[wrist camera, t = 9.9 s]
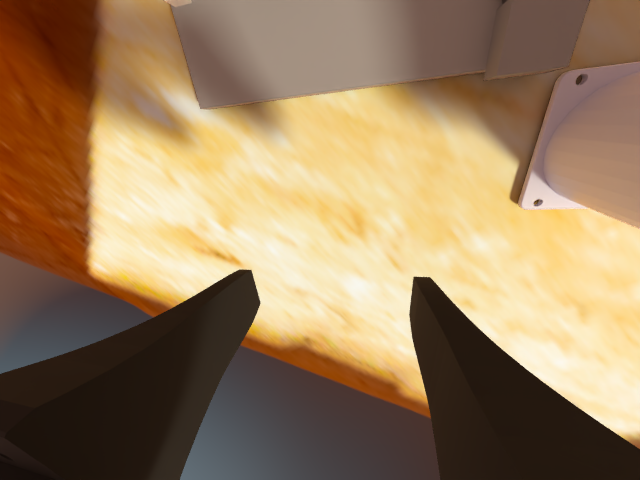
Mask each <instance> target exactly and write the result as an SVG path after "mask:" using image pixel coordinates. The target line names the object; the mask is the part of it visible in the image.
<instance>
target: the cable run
mask: <svg viewBox="0 0 640 480" xmlns="http://www.w3.org/2000/svg"><path fill="white" fill-rule="evenodd" d="M589 1H590V0H502V4H503V5H502V6H500V7H499V8H498V9H497V11H496V16H495V22H494V27H493V32H492V37H491V42H490V48H489V53H488V58H487V63H486V69H485V74H484V79H483V81H484V80H492V79H500V78H508V77H516V76H523V75H531V74H539V73H546V72H550V71H554V70H558V69H561V68H565V67H568V66H569V63H570V60H571V57H572V54H573V51H574V48H575V44H576V41H577V38H578V35H579V32H580V29H581V26H582V23H583V20H584V17H585V14H586V11H587V7H588V4H589Z"/></svg>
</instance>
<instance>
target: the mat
mask: <svg viewBox="0 0 640 480" xmlns="http://www.w3.org/2000/svg"><path fill="white" fill-rule="evenodd" d="M191 2H192V3H190V4H186V5H182V6H178V7H174V6H172V5H171V4H170V5H171V8H172V12H173V15H174V19H175V22H176V26H177V29H178V33H179V36H180V40H181V43H182V47H183V50H184V54H185V57H186V60H187V64H188V67H189V71H190V74H191V78H192V81H193V85H194V88H195V92H196V95H197V99H198V102H199V106H200V109H215V108H222V107H230V106H237V105H245V104H252V103H259V102H267V101H274V100H282V99H289V98H296V97H304V96H311V95H319V94H326V93H334V92H341V91H348V90H356V89H363V88H371V87H378V86H385V85H393V84H400V83H408V82H415V81H423V80H430V79H437V78H445V77H452V76H460V75H467V74H474V73H482V72H485V69H486V63H487V58H488V53H489V48H490V42H491V37H492V32H493V27H494V22H495V16H496V11H497V9H498V8H499V7H500V6H502V5H503V4H502V0H191Z"/></svg>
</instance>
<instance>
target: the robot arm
mask: <svg viewBox="0 0 640 480" xmlns="http://www.w3.org/2000/svg"><path fill="white" fill-rule="evenodd" d="M580 75H581V76H582V81H581V82H580V83H579V84H578V85H577V84H576V79H577V77H578V76H580ZM537 199H539V202H538V203H537V204H534V201H536V200H537ZM533 204H534V205H533ZM518 205H519V207H521V208H523V209H526V210H536V209H592V210H594V211H597V212H599V213H602V214H604V215H607V216H609V217H611V218H614V219H616V220H619V221H621V222H624V223H626V224H628V225H631V226H633V227H636V228H638V229H640V61H639V62H632V63H624V64H616V65H608V66H600V67H592V68H584V69H576V70H571V71H567V72H565V73H563V74H562V75H560V76H559V78H558V79H557V80H556V82H555V85H554V89H553V92H552V95H551V98H550V101H549V105H548V108H547V111H546V114H545V117H544V121H543V124H542V127H541V130H540V134H539V137H538V140H537V143H536V146H535V150H534V153H533V156H532V159H531V162H530V166H529V169H528V172H527V175H526V178H525V182H524V185H523V188H522V191H521V195H520V198H519V201H518ZM259 306H260V300H259V296H258V292H257V289H256V285H255V282H254V278H253V274H252V271H251V270H238V271H236V272H234V273H232V274H230V275H228V276H227V277H225V278H223V279H222V280H220V281H218V282H217V283H215V284H213V285H212V286H210V287H208V288H207V289H205V290H203V291H202V292H200V293H198V294H197V295H195V296H193V297H191V298H189V299H188V300H186V301H184V302H182V303H181V304H179V305H177V306H175V307H173V308H172V309H170V310H168V311H166V312H164V313H162V314H160V315H158V316H156V317H154V318H152V319H150V320H148V321H146V322H143V323H141V324H139V325H137V326H135V327H132V328H130V329H128V330H125V331H123V332H120V333H118V334H116V335H113V336H111V337H108V338H106V339H104V340H101V341H98V342H96V343H93V344H90V345H88V346H85V347H82V348H79V349H77V350H74V351H71V352H68V353H65V354H63V355H59V356H57V357H54V358H50V359H47V360H44V361H41V362H38V363H34V364H31V365H28V366H25V367H21V368H18V369H15V370H12V371H9V372H5V373H2V374H0V480H180V477H181V474H182V471H183V469H184V466H185V463H186V460H187V458H188V455H189V453H190V450H191V448H192V445H193V443H194V440H195V437H196V435H197V432H198V430H199V427H200V425H201V423H202V420H203V418H204V416H205V413H206V411H207V409H208V406H209V403H210V402H211V400H212V397H213V395H214V393H215V391H216V389H217V386H218V384H219V382H220V380H221V378H222V376H223V374H224V372H225V370H226V368H227V367H228V365H229V363H230V361H231V360H232V358H233V356H234V354H235V353H236V351H237V349H238V347H239V346H240V344H241V342H242V341H243V339H244V337H245V335H246V334H247V332H248V330H249V328H250V327H251V325H252V323H253V321H254V318H255V316H256V314H257V311H258V308H259ZM409 315H410V323H411V331H412V338H413V343H414V347H415V351H416V355H417V359H418V363H419V367H420V371H421V375H422V379H423V383H424V387H425V391H426V395H427V399H428V404H429V409H430V414H431V421H432V427H433V433H434V439H435V445H436V453H437V459H438V465H439V473H440V479H441V480H640V449H638V448H637V447H635V446H634V445H632V444H631V443H629V442H628V441H626V440H625V439H623V438H622V437H620V436H619V435H617V434H616V433H614V432H613V431H611V430H610V429H608V428H607V427H605V426H604V425H602V424H601V423H599V422H598V421H597V420H595V419H594V418H592V417H591V416H589V415H588V414H586V413H585V412H584V411H582V410H581V409H579V408H578V407H576V406H575V405H574V404H572V403H571V402H569V401H568V400H567V399H565V398H564V397H563V396H561V395H560V394H558V393H557V392H556V391H554V390H553V389H552V388H550V387H549V386H548V385H546V384H545V383H543V382H542V381H541V380H539V379H538V378H537V377H536V376H534V375H533V374H532V373H530V372H529V371H528V370H526V369H525V368H524V367H523V366H522V365H520V364H519V363H518V362H517V361H515V360H514V359H513V358H512V357H511V356H509V355H508V354H507V353H506V352H504V351H503V350H502V349H501V348H500V347H499V346H497V345H496V344H495V343H494V342H493V341H492V340H491V339H489V338H488V337H487V336H486V335H485V334H484V333H483V332H482V331H481V330H480V329H479V328H478V327H477V326H476V325H474V324H473V323H472V322H471V321H470V320H469V319H468V318H467V317H466V316H465V315H464V313H463V312H462V311H461V310H460V309H459V308H458V307H457V306H456V305H455V304H454V303H453V302H452V301H451V300H450V299H449V298H448V297H447V295H446V294H445V293H444V292H443V291H442V290H441V289H440V288H439V287H438V285H437V284H436V283H435V282H434V281H433V280H432V279H431V278H430V277H414V279H413V288H412V296H411V305H410V314H409Z"/></svg>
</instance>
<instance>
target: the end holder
mask: <svg viewBox="0 0 640 480" xmlns="http://www.w3.org/2000/svg"><path fill="white" fill-rule="evenodd" d="M164 1H165V2H167V3H169V4H171V5H172V6H174V7H178V6H182V5H186V4H190V3H192V2H191V0H164Z"/></svg>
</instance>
